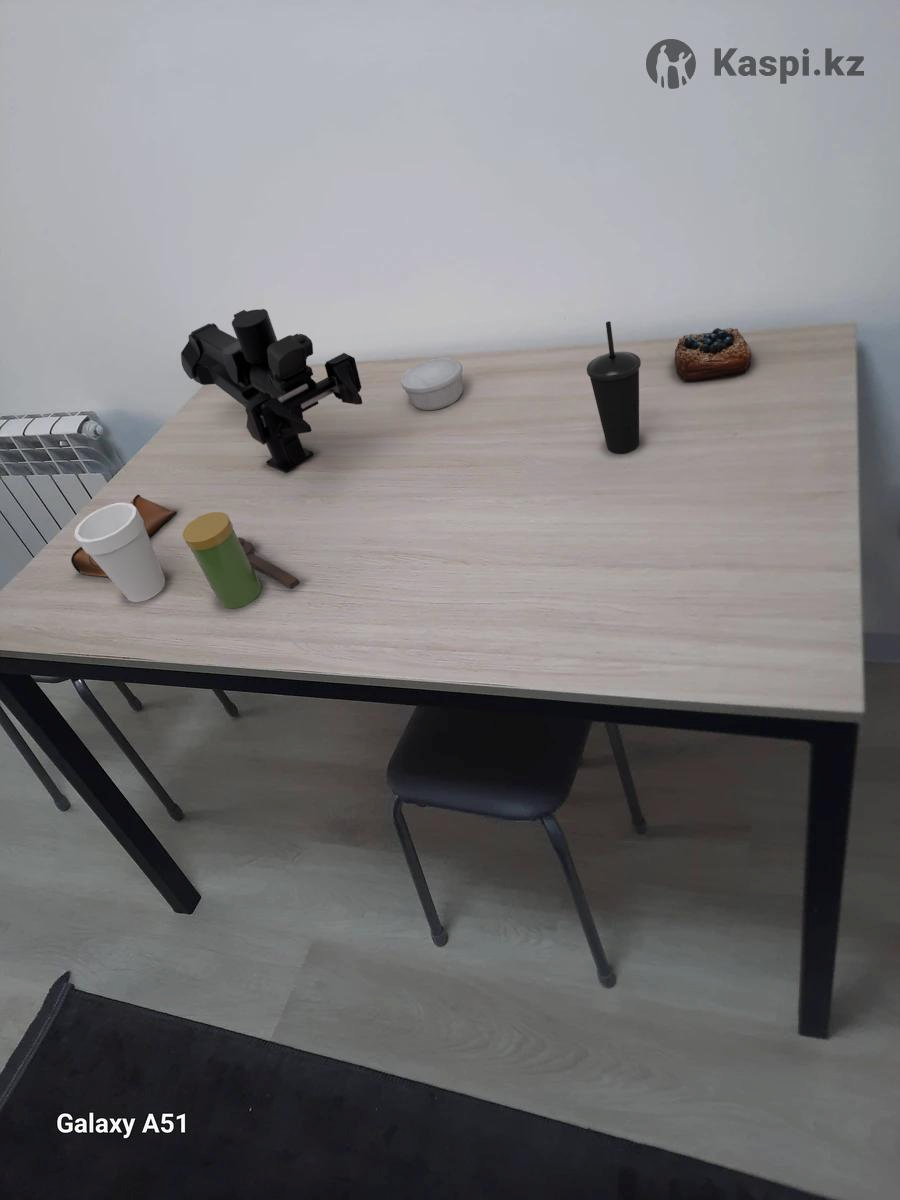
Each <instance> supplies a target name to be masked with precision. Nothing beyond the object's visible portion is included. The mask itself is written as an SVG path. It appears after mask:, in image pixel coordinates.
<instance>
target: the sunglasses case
mask: <svg viewBox="0 0 900 1200" xmlns="http://www.w3.org/2000/svg"><path fill="white" fill-rule="evenodd" d="M129 503H132V504H133V505H134V506H135V507H136V508H137V510H138V512H139V514H140V515H141V517H142V519H143V521H144V523H143V524H144V527H145V529H146V532H147V534H148V537H149V539H151V538H152V537H153V536H154V535H155V534H156V533H157V532H158V531H159V530H160V529H161V528H162V527H163V526H164V525H165V524H166V523H167V522H168V521H169V520H170V519H171V518H172V517H173V516H174V514H175V513H177V510H176V509H173V510H171V509H168V508H166V507H164V506H162V505H160V504H158V503H155V502H153V501H151V500H149V499H146V498H144V497H142V496H141V495H140V494H136V495H135V496H134V497H133V499H132V500H131V501H130V502H129ZM70 562H71V564H72V566H73V568H74V569H75V570H76V571H77V572H78V573H79V574H81V575H85V576H90V577H99V578H109V577H108V576H107V574H106V573H105V572H104V571H103V570H102V569H101V567H100V566H99V565H98V564H97V563H96V562H95V561H94V559H93V558H92V557H91V556H90V555H89V554H87V553H86V552H85V551H84V550H83V548H82V547H81V546H79V548H77V549H76V550H75V551H74V552H73V553H72V555H71V559H70Z"/></svg>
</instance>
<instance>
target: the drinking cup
mask: <svg viewBox="0 0 900 1200" xmlns="http://www.w3.org/2000/svg"><path fill="white" fill-rule="evenodd" d="M605 328H606V337H607V344H608V352H607V353H605V354H602V355H599V356H597V357H595V358H593V359H592V360H591V361H590V362H588V364H587V365H586V374H587V375H588V377H589V380H590V384H591V387H592V392H593V395H594V400H595V403H596V407H597V411H598V415H599V420H600V424H601V429H602V432H603V436H604V440H605V443H606V447H607V450H608V451H609V452H610V453H612V454H616V455H625V454H628V453H629V454H630V453H631V452H634V451H635V450H637V448H639V445H640V367H641V366H642V365H641V364H642V363H641V362H642V361H641V358H640V356H639V355H637V354H636V353H634V352H630V351H615V346H614V339H613V330H612V322H611V321H606V322H605Z"/></svg>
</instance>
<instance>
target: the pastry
mask: <svg viewBox="0 0 900 1200" xmlns="http://www.w3.org/2000/svg"><path fill="white" fill-rule="evenodd" d="M751 360H752V351H751V347H750V345H749V343H748V342H747V341H746V340H745V338H744V336H743V335H742V334H741V333H740V331H739V330H738V328H732V327H727V328H725V329H724V328H723V329H721V328H719V327H716V328H714V329H713V330H712V331H711V332H702V333H698V334H697V333H695V334H693V333H691V334H685V335H683V336H682V338H678V342H677V345H676V348H675V350H674V365H675V372H676V375H677V377H678V379H679V380H680V381H682V382H683V383H687V384H689V383H702V382H709V381H719V380H725V379H732V378H735V377H739V376H743V375H745V374H746V373H747V372H748V371H749V369H750V367H751Z"/></svg>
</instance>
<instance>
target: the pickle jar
mask: <svg viewBox="0 0 900 1200" xmlns="http://www.w3.org/2000/svg"><path fill="white" fill-rule="evenodd" d="M237 537H238V535H237V534H236V532H235V530H234V525H233V523H232V521H231V519H230V517H229V515H228V514H226V513H225V512H222V511H212V512H207V513H205V514H201V515H199V516H198V517H196V518H194V519H193V520H191V521H189V523H188V524H187V525H186V526H185V528H184V529H183V532H182V538H183V540H184V542H185V544H186V545H187V547H188V548H189V549H190V551H191V553H192V554H193V556H194V558H195V560H196V562H197V563H198V565H199V567H200V569H201V571H202V572H203V574H204V576H205V578H206V580H207V581H208V583H209V585H210V587H211V589H212V591H213V593H214V594H215V596H216V598H217V600H218V602H219V603H220V605H221V606H222V607H223V608H226V609H232V610H233V609H239V608H242V607H245V606H246V605H248V604H251V603H253V601H255V600H256V599H257V597H258V596H259V595H260V593H261V591H262V584H261V582H260V580H259V578H258V576H257V574H256V572H255V570H254V567H253V566H251V564H250V562H249V560H248V558H247V556H246V554H245V552H244V550H243V548H242V546H241V544H240V542H239V540H238V538H237Z"/></svg>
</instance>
